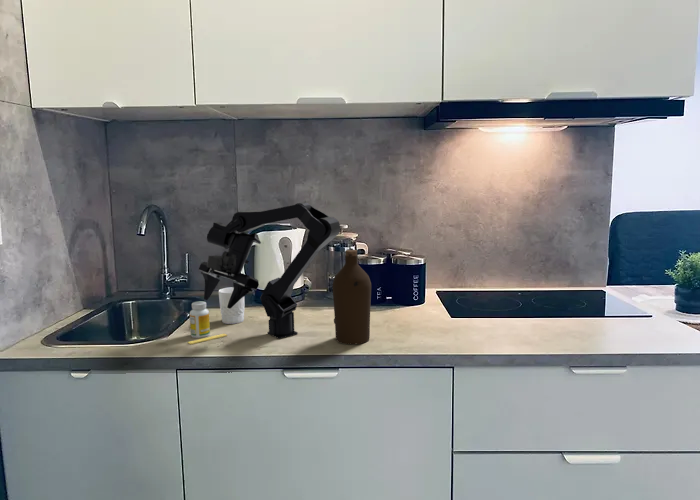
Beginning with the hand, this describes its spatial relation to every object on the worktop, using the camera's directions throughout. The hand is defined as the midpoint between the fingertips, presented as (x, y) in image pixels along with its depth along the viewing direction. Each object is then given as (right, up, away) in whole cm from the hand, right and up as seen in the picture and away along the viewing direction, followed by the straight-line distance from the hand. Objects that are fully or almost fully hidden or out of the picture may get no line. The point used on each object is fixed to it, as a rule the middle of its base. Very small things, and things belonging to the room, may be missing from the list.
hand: (216, 303), depth 149 cm
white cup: (+1, -7, +17) cm, 19 cm away
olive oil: (+38, -10, -2) cm, 39 cm away
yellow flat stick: (-2, -10, 0) cm, 10 cm away
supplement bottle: (-6, -10, +3) cm, 12 cm away
